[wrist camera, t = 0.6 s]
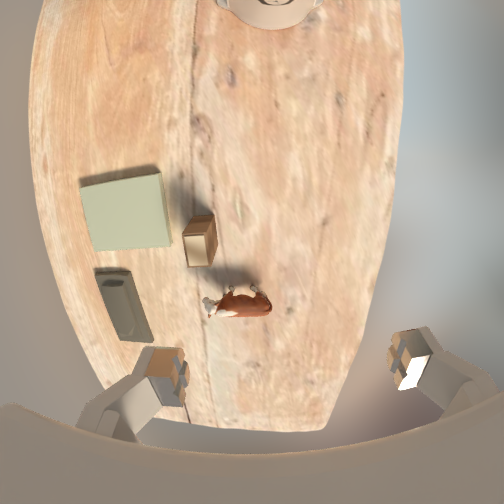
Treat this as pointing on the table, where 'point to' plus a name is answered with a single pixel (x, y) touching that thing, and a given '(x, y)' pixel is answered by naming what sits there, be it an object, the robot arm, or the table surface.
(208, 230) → the block
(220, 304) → the bull figurine
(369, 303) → the table surface
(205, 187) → the table surface
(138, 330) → the soap mold
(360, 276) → the table surface
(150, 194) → the board
